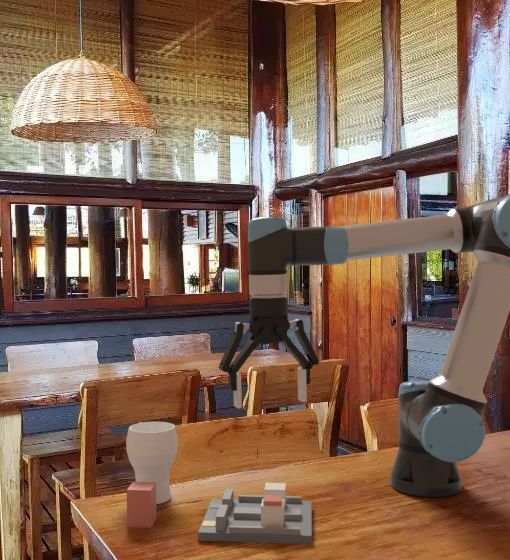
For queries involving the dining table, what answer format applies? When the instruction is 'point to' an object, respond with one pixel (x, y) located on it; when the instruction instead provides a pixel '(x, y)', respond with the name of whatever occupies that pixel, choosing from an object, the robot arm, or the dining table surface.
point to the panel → (255, 521)
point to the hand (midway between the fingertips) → (270, 404)
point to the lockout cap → (141, 504)
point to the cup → (153, 454)
